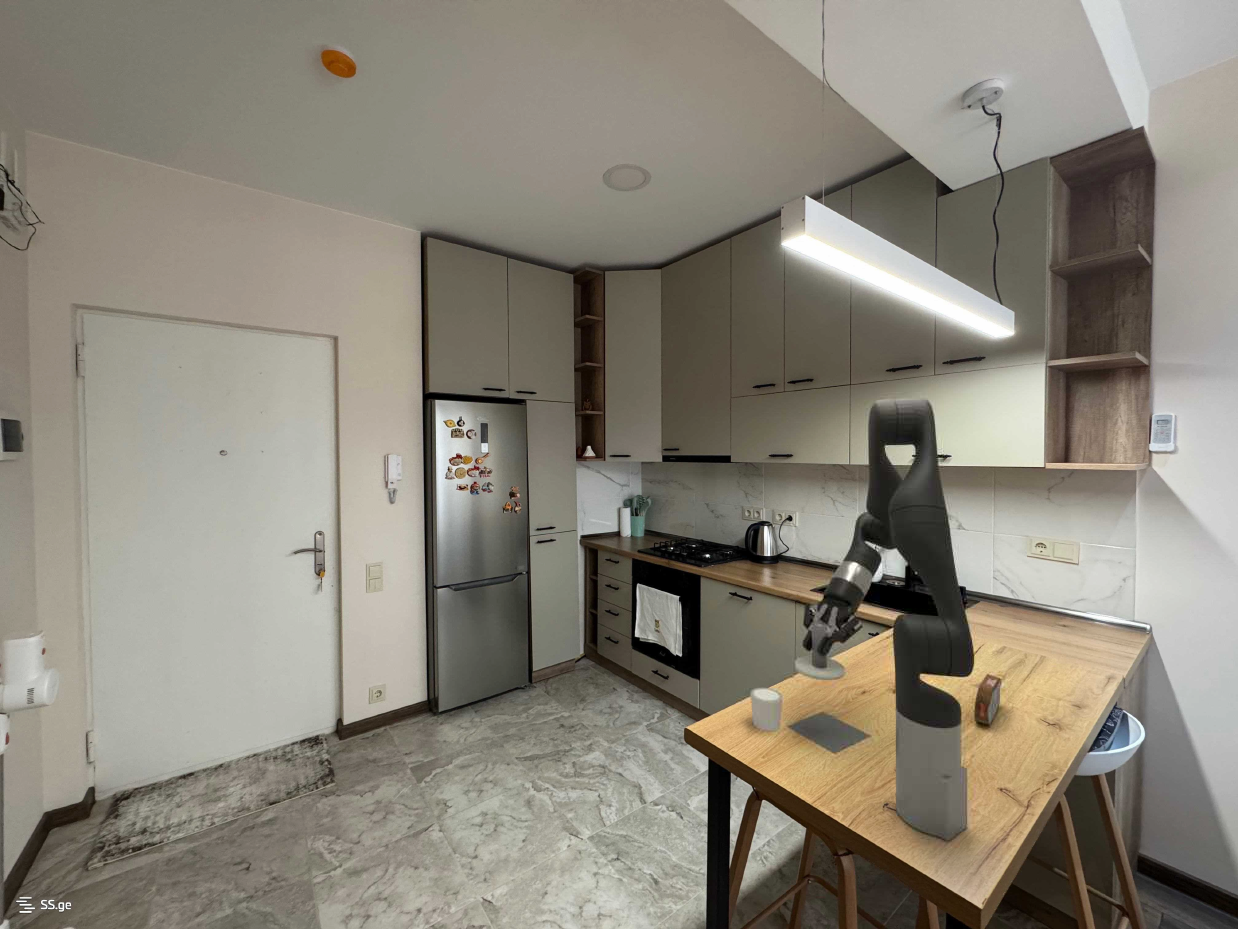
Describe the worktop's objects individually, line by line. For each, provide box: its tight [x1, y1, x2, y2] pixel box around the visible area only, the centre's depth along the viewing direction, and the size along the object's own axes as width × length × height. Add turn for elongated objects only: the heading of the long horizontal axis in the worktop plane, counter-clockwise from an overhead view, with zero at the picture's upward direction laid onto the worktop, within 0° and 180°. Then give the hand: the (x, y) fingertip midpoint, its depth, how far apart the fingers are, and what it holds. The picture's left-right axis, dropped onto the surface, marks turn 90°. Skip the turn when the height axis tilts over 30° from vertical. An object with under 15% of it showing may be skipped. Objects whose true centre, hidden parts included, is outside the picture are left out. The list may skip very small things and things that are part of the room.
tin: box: [973, 673, 1002, 726], centre depth 115 cm, size 15×3×8 cm, turn 134°
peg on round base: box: [794, 621, 846, 681], centre depth 109 cm, size 10×10×10 cm
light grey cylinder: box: [750, 687, 783, 732], centre depth 112 cm, size 7×7×7 cm
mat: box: [786, 710, 872, 754], centre depth 109 cm, size 12×12×1 cm
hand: (813, 651), depth 108 cm, fingers closed on peg on round base, 3 cm apart
